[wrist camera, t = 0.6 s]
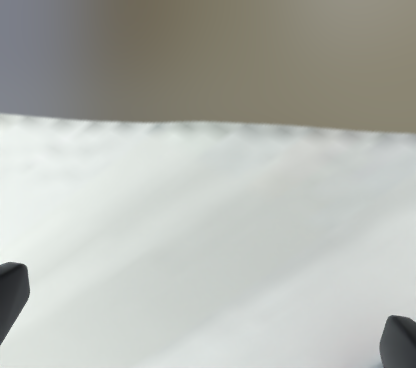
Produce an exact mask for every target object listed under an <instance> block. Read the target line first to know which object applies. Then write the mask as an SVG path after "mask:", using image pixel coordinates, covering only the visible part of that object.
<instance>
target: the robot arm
mask: <svg viewBox="0 0 416 368" xmlns="http://www.w3.org/2000/svg"><path fill="white" fill-rule="evenodd" d="M29 295H30V287H29V278H28V270H27V267H26V265H24V264H21V263H14V262H8V263H5V264H2V265H0V345H1V344H2V342H3V340H4V339H5V337H6V335H7V334H8V332H9V330H10V329H11V327H12V325H13V324H14V322H15V320H16V319H17V317H18V315H19V314H20V312H21V311H22V309H23V307H24V306H25V304H26V302H27V300H28V298H29ZM380 355H381V359H382V363H383V367H384V368H416V322H414V321H413V320H411V319H410V318H408V317H402V316H395V315H391V316H389V317H388V319H387V321H386V324H385V328H384V331H383V334H382V337H381V340H380Z"/></svg>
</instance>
